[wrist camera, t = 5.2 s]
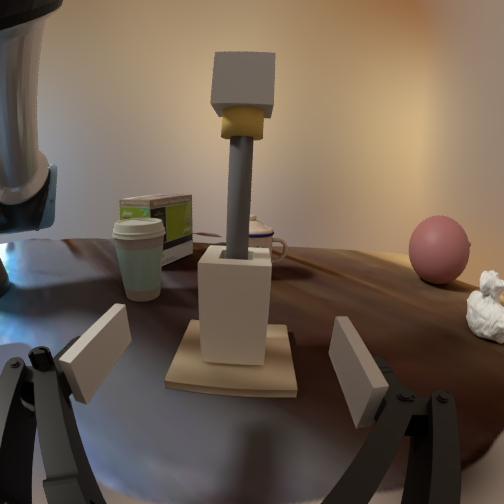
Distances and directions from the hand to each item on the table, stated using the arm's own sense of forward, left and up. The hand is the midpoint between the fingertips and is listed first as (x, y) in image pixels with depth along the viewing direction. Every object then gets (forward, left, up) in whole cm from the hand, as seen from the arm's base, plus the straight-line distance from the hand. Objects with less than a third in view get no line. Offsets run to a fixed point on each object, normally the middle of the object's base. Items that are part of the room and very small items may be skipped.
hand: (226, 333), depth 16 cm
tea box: (-48, +9, -10) cm, 50 cm away
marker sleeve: (-8, +6, -8) cm, 13 cm away
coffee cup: (-29, +1, -10) cm, 31 cm away
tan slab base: (-8, +6, -9) cm, 14 cm away
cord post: (-8, +6, -9) cm, 14 cm away
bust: (+12, +38, -10) cm, 41 cm away
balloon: (-3, +58, -10) cm, 58 cm away
